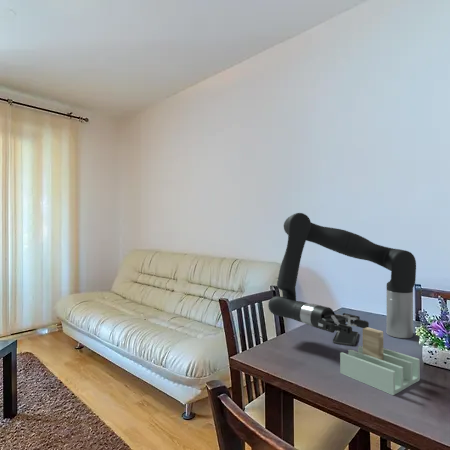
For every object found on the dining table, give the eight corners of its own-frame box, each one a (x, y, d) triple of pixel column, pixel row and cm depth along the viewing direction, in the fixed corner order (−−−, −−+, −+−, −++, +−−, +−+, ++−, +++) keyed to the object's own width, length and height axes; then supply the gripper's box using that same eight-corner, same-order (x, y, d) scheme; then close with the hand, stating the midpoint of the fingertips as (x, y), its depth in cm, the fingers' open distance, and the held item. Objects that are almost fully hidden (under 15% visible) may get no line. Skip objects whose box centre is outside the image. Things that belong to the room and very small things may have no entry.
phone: (332, 341, 127) (338, 329, 140) (332, 344, 127) (338, 332, 140) (355, 344, 123) (358, 331, 137) (355, 347, 123) (358, 334, 137)
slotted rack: (367, 361, 110) (367, 342, 110) (419, 380, 97) (419, 359, 97) (340, 373, 102) (340, 352, 102) (393, 395, 89) (393, 372, 89)
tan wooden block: (367, 366, 104) (367, 327, 104) (383, 372, 100) (383, 331, 100) (362, 369, 103) (362, 328, 102) (378, 375, 99) (378, 333, 98)
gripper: (302, 308, 113) (345, 320, 100) (330, 302, 122) (373, 311, 109) (302, 331, 114) (345, 345, 100) (330, 323, 122) (373, 335, 109)
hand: (359, 328), depth 105 cm, fingers open, 8 cm apart
